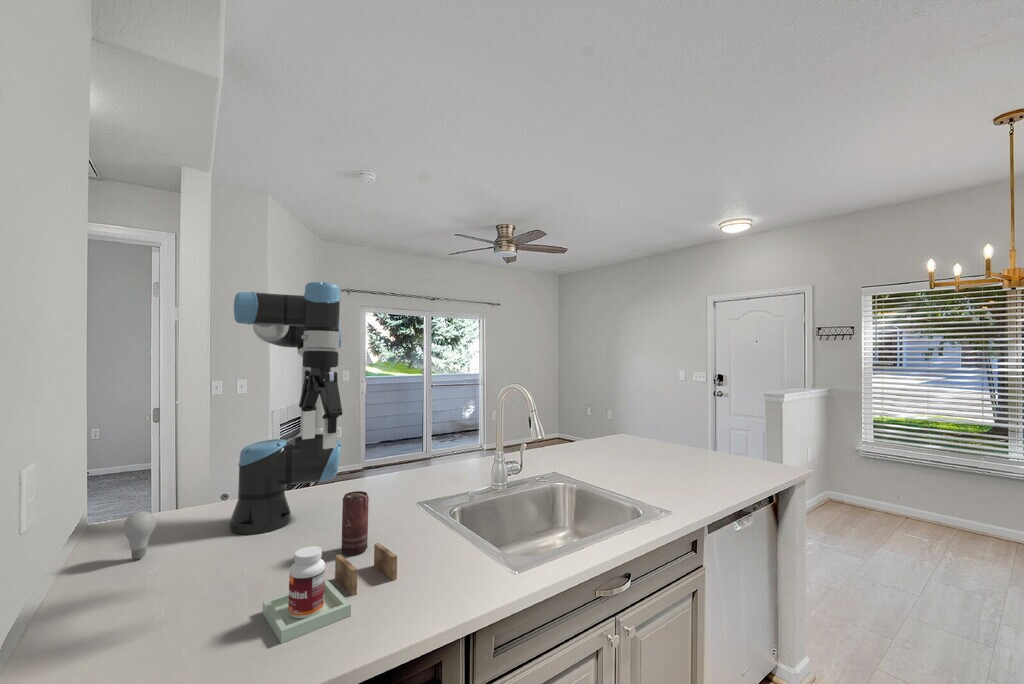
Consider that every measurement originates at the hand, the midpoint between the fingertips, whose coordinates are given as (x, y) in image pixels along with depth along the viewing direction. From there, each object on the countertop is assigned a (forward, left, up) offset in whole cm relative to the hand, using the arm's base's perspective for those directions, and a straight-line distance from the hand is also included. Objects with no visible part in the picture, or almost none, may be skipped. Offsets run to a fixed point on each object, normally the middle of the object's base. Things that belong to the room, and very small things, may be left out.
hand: (318, 443), depth 100 cm
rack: (+11, +7, -29) cm, 32 cm away
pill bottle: (+16, -7, -28) cm, 33 cm away
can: (-4, +11, -29) cm, 31 cm away
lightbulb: (-33, -29, -29) cm, 53 cm away
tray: (+16, -7, -29) cm, 34 cm away
